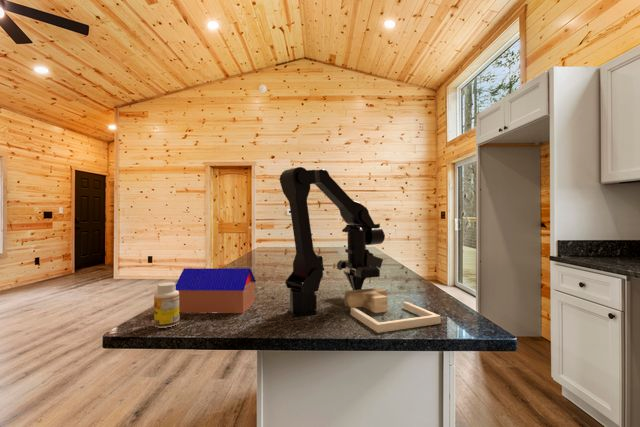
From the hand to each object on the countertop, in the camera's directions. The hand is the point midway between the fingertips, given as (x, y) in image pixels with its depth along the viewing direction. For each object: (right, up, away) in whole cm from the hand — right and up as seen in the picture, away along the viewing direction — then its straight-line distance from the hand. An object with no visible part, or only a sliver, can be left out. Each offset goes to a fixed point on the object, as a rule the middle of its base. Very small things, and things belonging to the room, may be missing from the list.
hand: (357, 295), depth 101 cm
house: (-42, -2, -7) cm, 43 cm away
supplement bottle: (-49, -2, -22) cm, 54 cm away
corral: (+7, -1, -19) cm, 21 cm away
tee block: (+3, -1, -8) cm, 9 cm away
